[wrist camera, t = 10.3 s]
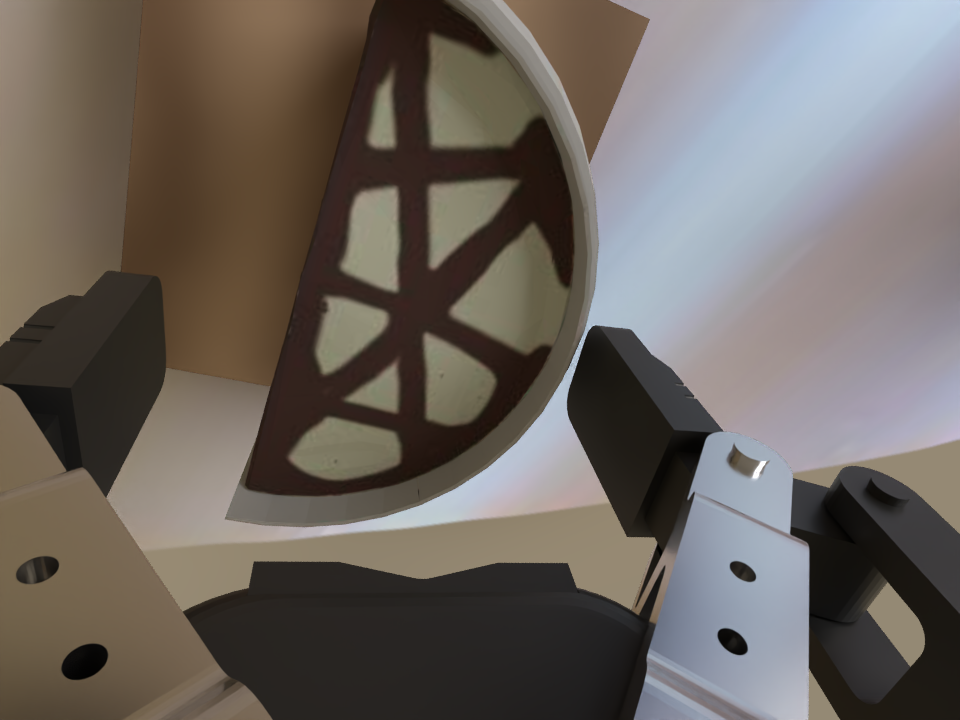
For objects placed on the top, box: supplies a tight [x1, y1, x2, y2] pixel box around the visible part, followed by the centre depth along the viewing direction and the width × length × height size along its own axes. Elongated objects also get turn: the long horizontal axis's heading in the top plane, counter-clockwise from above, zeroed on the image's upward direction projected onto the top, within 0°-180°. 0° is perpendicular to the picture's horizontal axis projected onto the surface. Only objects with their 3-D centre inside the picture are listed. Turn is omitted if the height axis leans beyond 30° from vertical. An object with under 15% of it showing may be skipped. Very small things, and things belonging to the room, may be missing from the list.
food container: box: [225, 0, 599, 527], centre depth 16 cm, size 12×6×10 cm, turn 158°
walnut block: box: [121, 0, 650, 386], centre depth 22 cm, size 14×16×5 cm
